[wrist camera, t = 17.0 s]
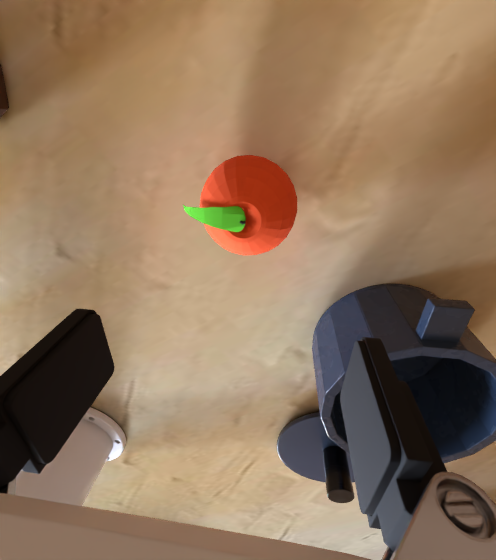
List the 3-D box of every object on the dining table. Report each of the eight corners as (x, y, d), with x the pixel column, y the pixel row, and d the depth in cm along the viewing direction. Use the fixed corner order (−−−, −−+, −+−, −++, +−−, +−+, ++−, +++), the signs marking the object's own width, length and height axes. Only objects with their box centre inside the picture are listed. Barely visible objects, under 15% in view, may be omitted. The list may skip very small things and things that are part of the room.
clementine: (201, 231, 25) (173, 266, 19) (198, 146, 22) (164, 155, 16) (290, 239, 25) (291, 278, 19) (301, 153, 21) (308, 165, 15)
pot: (303, 396, 34) (307, 472, 27) (327, 251, 25) (344, 305, 18) (421, 409, 33) (460, 492, 26) (492, 261, 24) (586, 324, 16)
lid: (273, 466, 42) (272, 517, 37) (281, 400, 35) (280, 450, 30) (376, 480, 41) (390, 534, 35) (406, 414, 34) (429, 469, 28)
